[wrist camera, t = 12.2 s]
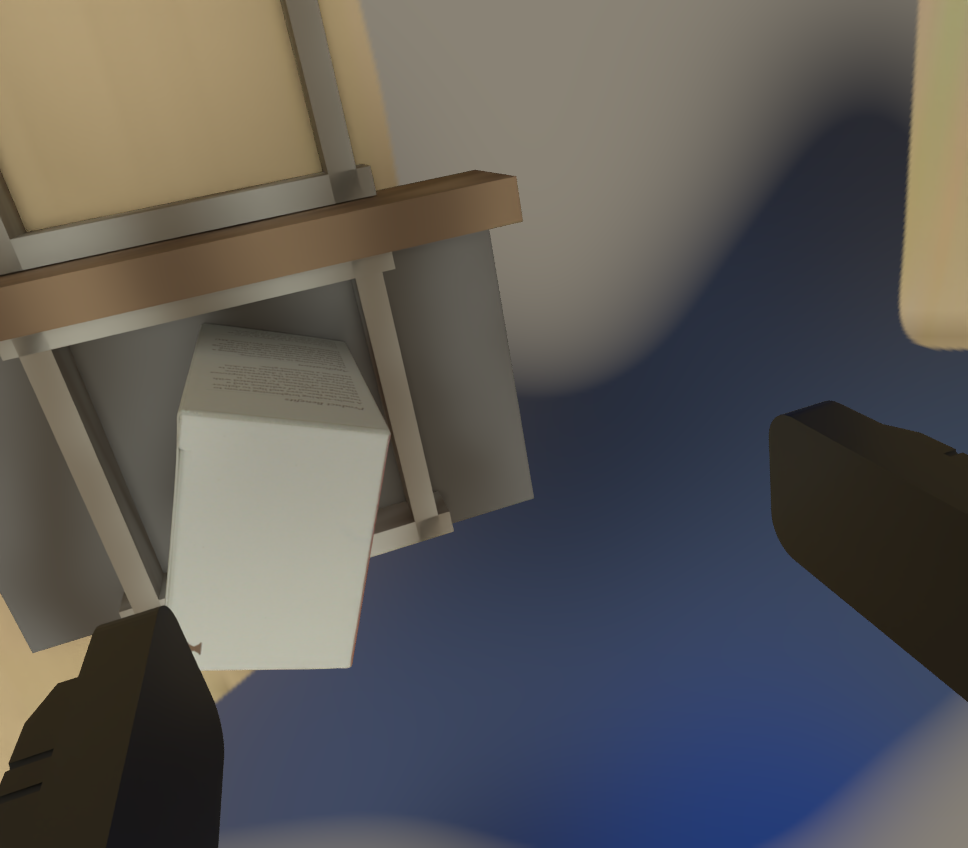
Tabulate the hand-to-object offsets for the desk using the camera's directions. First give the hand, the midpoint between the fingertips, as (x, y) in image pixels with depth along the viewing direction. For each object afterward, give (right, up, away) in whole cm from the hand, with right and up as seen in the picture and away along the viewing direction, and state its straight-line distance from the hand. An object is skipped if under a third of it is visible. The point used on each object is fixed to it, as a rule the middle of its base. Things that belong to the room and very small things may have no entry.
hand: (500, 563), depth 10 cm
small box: (-9, +2, +20) cm, 22 cm away
